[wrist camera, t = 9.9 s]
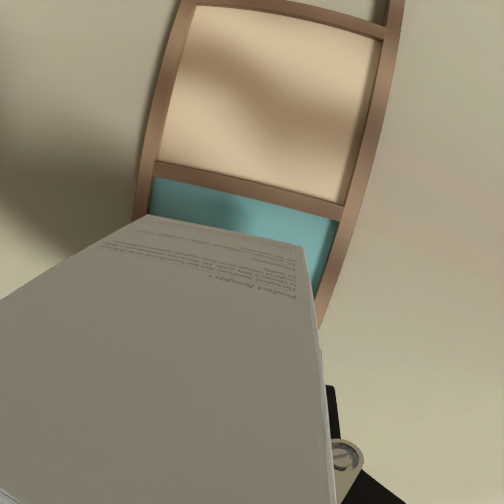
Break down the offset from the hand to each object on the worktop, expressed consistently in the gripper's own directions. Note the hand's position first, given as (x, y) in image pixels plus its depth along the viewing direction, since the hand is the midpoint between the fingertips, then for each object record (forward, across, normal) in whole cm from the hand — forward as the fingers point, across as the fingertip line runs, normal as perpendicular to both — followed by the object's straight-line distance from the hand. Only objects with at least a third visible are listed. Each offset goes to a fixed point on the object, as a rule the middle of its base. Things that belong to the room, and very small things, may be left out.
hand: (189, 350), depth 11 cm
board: (+7, 0, -10) cm, 13 cm away
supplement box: (+4, 0, 0) cm, 4 cm away
